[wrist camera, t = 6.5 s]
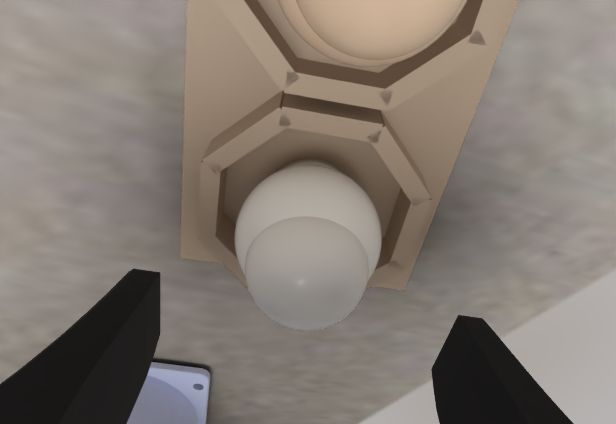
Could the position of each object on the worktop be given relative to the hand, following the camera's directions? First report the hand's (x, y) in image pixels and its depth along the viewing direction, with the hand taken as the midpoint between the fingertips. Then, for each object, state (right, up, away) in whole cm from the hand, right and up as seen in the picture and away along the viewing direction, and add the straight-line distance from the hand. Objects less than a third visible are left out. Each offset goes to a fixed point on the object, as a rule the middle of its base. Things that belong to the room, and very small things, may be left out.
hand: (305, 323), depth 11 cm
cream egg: (0, +3, +5) cm, 6 cm away
